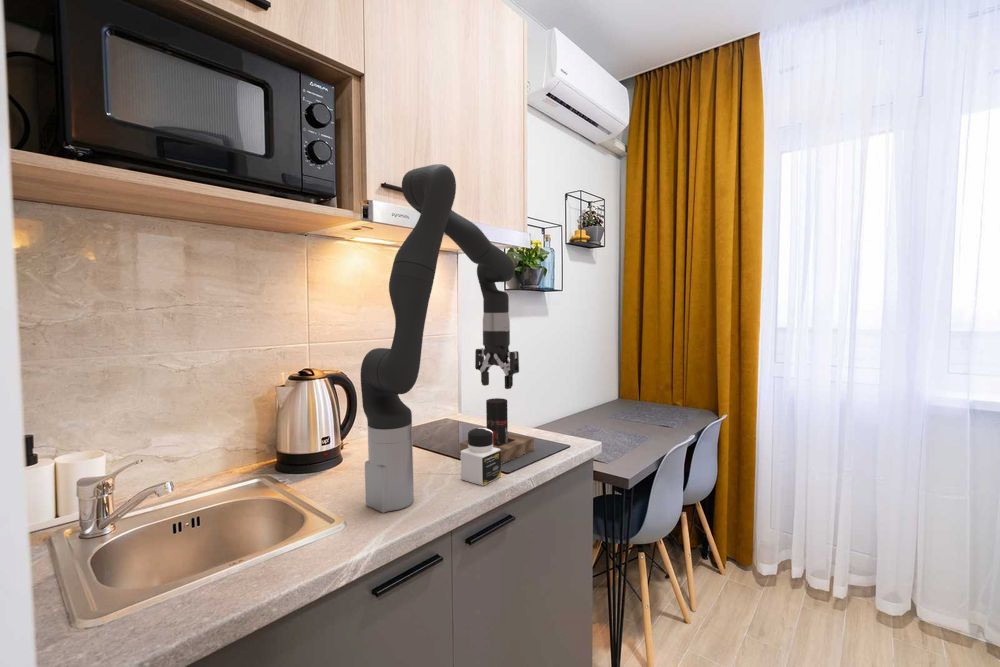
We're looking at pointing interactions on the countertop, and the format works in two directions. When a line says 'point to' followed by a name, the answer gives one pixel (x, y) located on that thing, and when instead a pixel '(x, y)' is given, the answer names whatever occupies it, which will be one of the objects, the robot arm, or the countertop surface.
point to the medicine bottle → (480, 458)
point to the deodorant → (497, 420)
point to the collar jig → (510, 446)
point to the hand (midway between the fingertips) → (496, 386)
